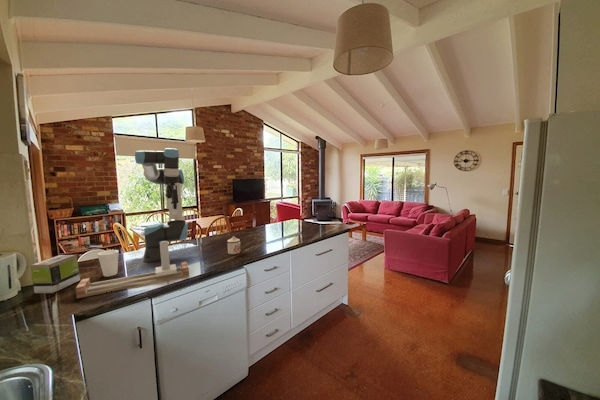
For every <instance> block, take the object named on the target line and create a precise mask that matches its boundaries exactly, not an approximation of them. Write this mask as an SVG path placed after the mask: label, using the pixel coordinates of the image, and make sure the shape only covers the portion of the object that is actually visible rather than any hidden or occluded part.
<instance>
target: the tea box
mask: <svg viewBox="0 0 600 400" xmlns="http://www.w3.org/2000/svg"><path fill="white" fill-rule="evenodd" d="M29 268H30V273H31V277H32V286H33V292H34V293H35V294H54V293H55V292H58V291H60V290H62V289H65V288H67V287H69V286H71V285H73V284H74V283H77V282H79V281H81V276H80V275H81V274H80V270H79V269H80V268H79V262H78V255H77V254H63V255H62V254H60V255H55V256H53V257H50V258H47V259H44V260H41V261H39V262H35V263H33V264H30V267H29Z"/></svg>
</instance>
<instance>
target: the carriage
mask: <svg viewBox="0 0 600 400" xmlns="http://www.w3.org/2000/svg"><path fill="white" fill-rule="evenodd" d="M169 249H170V248H169V242H168V241H161V242H160V253H161V261H160V263H161V265H160V266H157V267H156V266H155V271H154V272H155V274H156V277H158V276H163V275H169V274H174V273H177V269H176V268H177V265H176V263H173V264H171V263H170V250H169Z"/></svg>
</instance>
